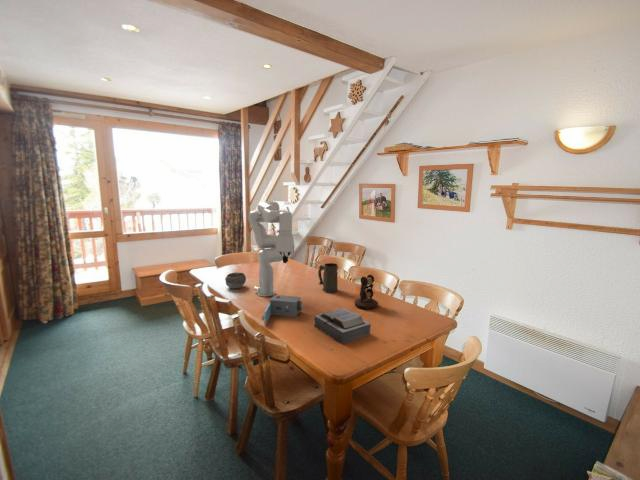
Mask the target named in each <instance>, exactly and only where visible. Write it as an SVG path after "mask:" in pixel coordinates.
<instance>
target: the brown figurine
mask: <svg viewBox="0 0 640 480" xmlns="http://www.w3.org/2000/svg"><path fill="white" fill-rule="evenodd" d="M374 282H375V277H374V276H373V275H372V274H369V275H367V276H361V278H360V284H361V285H360V290H359V297H358V298H356V299H354V306H357V307H359V308H364V309H366V310H369V309H373V308H376V307H378V305H379V302H378V301H377V300H375V299H374V298H373V296H374V291H373V288H374Z"/></svg>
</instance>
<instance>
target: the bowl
mask: <svg viewBox="0 0 640 480" xmlns="http://www.w3.org/2000/svg"><path fill="white" fill-rule="evenodd" d="M224 279H225V285H226V286H227V287H228V288H229V289H234V290H236V289H239V288H242V287H243V286H244V285H245V283H246V281H247V277H246V275H245V273H244V272H237V271H236V272H231V273H228V274H226V276H225V278H224Z"/></svg>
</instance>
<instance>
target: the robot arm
mask: <svg viewBox="0 0 640 480" xmlns="http://www.w3.org/2000/svg"><path fill="white" fill-rule="evenodd" d="M256 207H257V208H256V209H257V210H256V209H255V210H251V211H250V212H249V214H248V223H249V225H250V227H251V229H252V231H253V233H254V238H255V242H256V245H257V247H258V248H259V249H260V250H259V251H258V252H257V259H258V269H259V276H258V277H259V286H254V287H253V290H254V291H257V293H256V294H257V295H258V296H259V297H271V296H272V297H273V296H274V295H277V293H276V291H275V290H274V267H273V266H272V265H271V263H277V262H282V263H283V264H287V263H288V262H289V256H290V255H292V254H293V255H294V254H295V239H294V238H295V237H294V235H293V213H292V212H291V211H288V210H286V209H281V210H280V205H279V203H278V202H277V201H271V200H270V201H261V202H260V203H258V205H257V206H256ZM261 223H269V224H278V227H279V228H278V229H277V230H276V233H278V234H268V232H267V229H266V227H265V226H264V225H263V224H261Z"/></svg>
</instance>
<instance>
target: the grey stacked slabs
mask: <svg viewBox="0 0 640 480" xmlns="http://www.w3.org/2000/svg"><path fill="white" fill-rule="evenodd" d="M313 317H314V325H313V326H314V328H316V329H318V330H319V331H321V332H323V333H324V334H325V335H327V336H329V337H330V338H332V339H334V340H335V341H336V342H338V343H340V344H342V345H345V344H347V343H350V342H353V341H357V340H359V339H362V338H365V337H368V336H370V335H371V323H370V322H367V321H366V320H364V319H363V317H362V315H361V314H358V313H356V312H355V311H353V312H351V311H349V310H348V309H345V308H343V307H341V308H339V309H335V310H332V311H329V312H323V313H320V314H315V315H314V316H313Z"/></svg>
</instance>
